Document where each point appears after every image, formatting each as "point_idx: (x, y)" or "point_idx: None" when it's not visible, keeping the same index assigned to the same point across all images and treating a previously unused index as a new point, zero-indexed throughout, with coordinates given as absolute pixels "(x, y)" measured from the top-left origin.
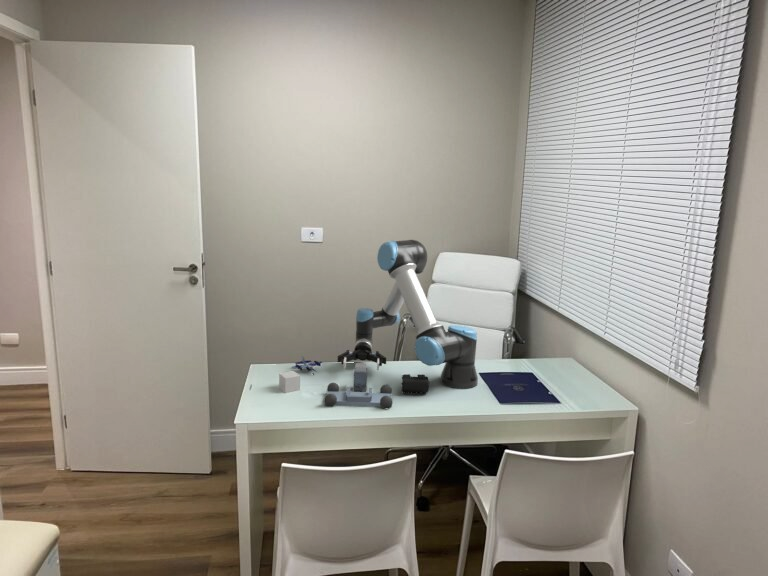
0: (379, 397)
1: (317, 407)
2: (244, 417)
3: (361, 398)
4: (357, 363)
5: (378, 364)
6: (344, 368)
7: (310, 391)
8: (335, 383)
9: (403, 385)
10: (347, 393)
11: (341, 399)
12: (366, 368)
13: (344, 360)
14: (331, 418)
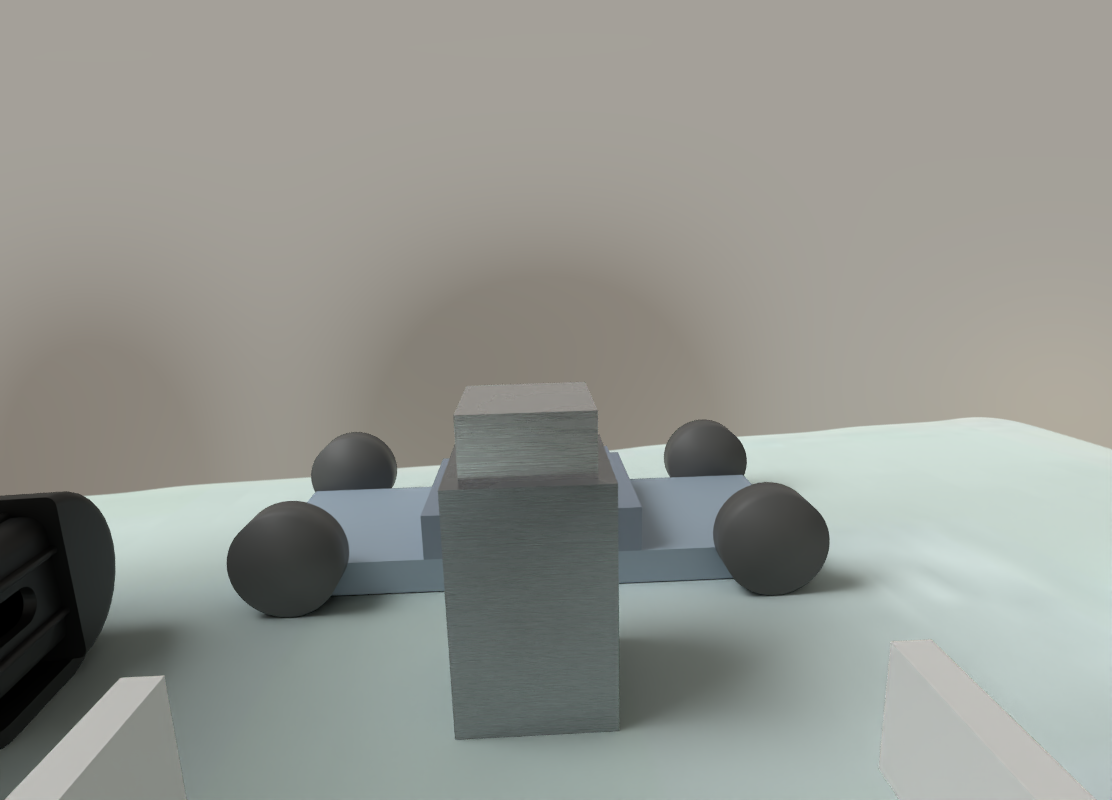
0: (377, 522)
1: None
2: (1022, 425)
3: None
4: (573, 408)
5: (139, 687)
6: (892, 758)
7: (998, 602)
8: (755, 496)
9: (106, 528)
10: (611, 460)
11: (647, 489)
12: (450, 483)
13: (1016, 739)
14: (650, 446)
